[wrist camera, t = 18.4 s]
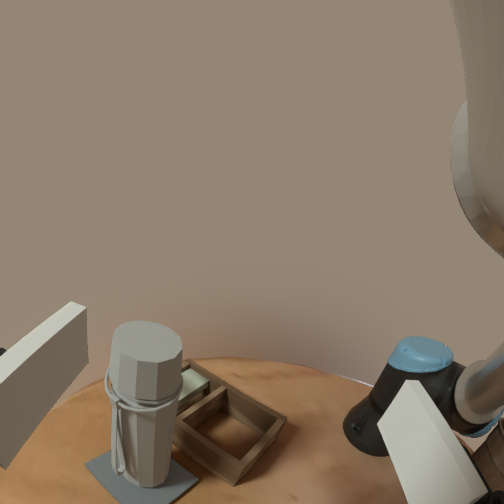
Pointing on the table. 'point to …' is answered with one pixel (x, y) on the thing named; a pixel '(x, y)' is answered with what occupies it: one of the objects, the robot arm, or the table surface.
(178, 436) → the walnut divided tray
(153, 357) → the water bottle
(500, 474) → the plant pot
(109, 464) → the slate mat
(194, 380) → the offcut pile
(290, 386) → the table surface
